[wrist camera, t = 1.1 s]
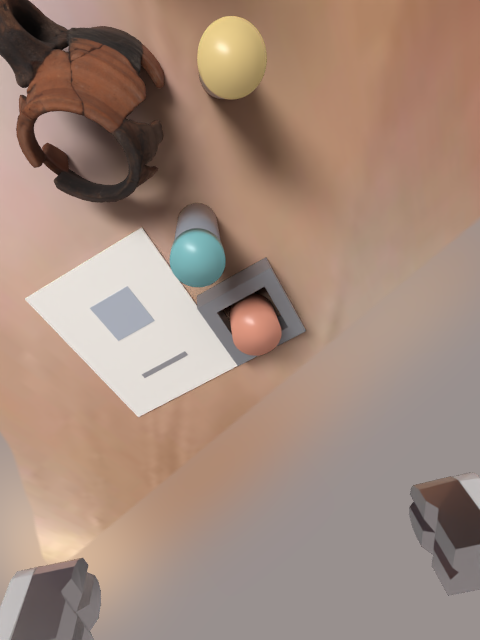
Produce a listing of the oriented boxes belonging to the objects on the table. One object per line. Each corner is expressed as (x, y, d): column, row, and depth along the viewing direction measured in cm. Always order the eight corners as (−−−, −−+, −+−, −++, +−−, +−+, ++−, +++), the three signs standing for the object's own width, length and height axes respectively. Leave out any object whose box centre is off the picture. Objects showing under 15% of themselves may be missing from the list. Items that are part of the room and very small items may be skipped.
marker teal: (204, 193, 31) (207, 224, 23) (225, 230, 32) (235, 270, 25) (168, 215, 31) (158, 252, 24) (191, 250, 33) (189, 296, 25)
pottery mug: (204, 97, 28) (185, 170, 24) (125, 164, 34) (98, 233, 29) (48, -88, 21) (-22, -32, 16) (-21, 36, 26) (-88, 103, 22)
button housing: (266, 257, 34) (270, 267, 32) (299, 317, 37) (305, 330, 35) (196, 295, 35) (197, 308, 33) (235, 351, 38) (237, 366, 36)
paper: (141, 227, 32) (141, 227, 31) (238, 364, 39) (238, 365, 39) (25, 297, 34) (24, 299, 33) (138, 415, 41) (138, 417, 41)
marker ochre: (231, 31, 26) (245, -1, 18) (255, 83, 28) (278, 75, 20) (187, 60, 27) (183, 42, 19) (213, 110, 28) (220, 112, 20)
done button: (261, 285, 34) (267, 304, 30) (281, 320, 35) (289, 341, 32) (220, 307, 34) (223, 328, 31) (242, 340, 36) (247, 363, 33)
